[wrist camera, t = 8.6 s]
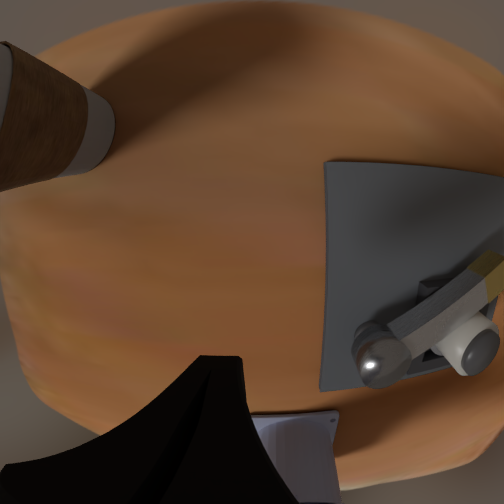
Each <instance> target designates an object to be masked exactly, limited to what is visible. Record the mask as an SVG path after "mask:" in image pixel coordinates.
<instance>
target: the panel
mask: <svg viewBox="0 0 504 504" xmlns="http://www.w3.org/2000/svg"><path fill="white" fill-rule="evenodd" d="M324 180H325V207H326V283H325V310H324V329H323V344H322V357H321V368H320V379H319V389H320V392H326V391H336V390H344V389H351V388H358V387H365V386H366V385H365V384H364V383H363V382H362V379H361V377H360V375H359V372H358V370H357V367H356V365H355V363H354V360H353V358H352V355H351V347H352V344H353V342H354V340H355V338H356V337H357V336H358V335H359V334H360V333H361V332H362V331H363V330H365V329H366V328H368V327H370V326H372V325H376V324H386V325H387V324H388V323H390V322H392V321H393V320H395V319H396V318H398V317H400V316H401V315H403V314H404V313H406V312H407V311H409V310H411V309H412V308H414V307H415V306H417V305H418V304H420V303H421V302H422V301H424V300H425V299H427V298H428V297H430V296H431V295H432V294H434V293H435V292H437V291H438V290H439V289H441V288H442V287H444V286H445V285H446V284H448V283H449V282H450V281H452V280H453V279H454V278H455V277H457V276H458V275H459V274H461V273H462V272H463V271H464V270H466V269H467V267H468V266H469V265H470V264H471V263H473V262H474V261H475V260H476V259H477V258H479V257H480V256H481V255H482V254H483V253H485V252H486V251H487V250H491V251H493V252H496V253H498V254H500V255H503V256H504V177H499V176H494V175H488V174H482V173H475V172H469V171H462V170H454V169H446V168H437V167H427V166H416V165H403V164H387V163H365V162H324ZM497 298H498V295H497V296H496V297H495V298H494V299H493V300H492V301H491V302H490V303H487V304H486V305H485V306H484V307H483V308H482V309H480V310H479V312H480V313H482V314H483V315H484V316H485V317H487V318H488V319H489V320H491V321H492V318H493V314H494V310H495V306H496V302H497ZM449 367H453V366H452V365H451V364H450V363H449V361H448V360H447V359H446V358H445V357H444V356H441V355H437V354H435V353H434V352H433V351H432V350H431V349H430V348H429V349H428V350H426V351H425V352H423V353H422V354H420V355H419V356H417V357H416V358H414V359H413V360H412V361H411V365H410V367H409V369H408V371H407V372H406V374H405V375H404V376H403V377H402V378H401V379H400V380H403V379H407V378H412V377H416V376H420V375H424V374H428V373H432V372H435V371H439V370H443V369H446V368H449Z"/></svg>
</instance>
